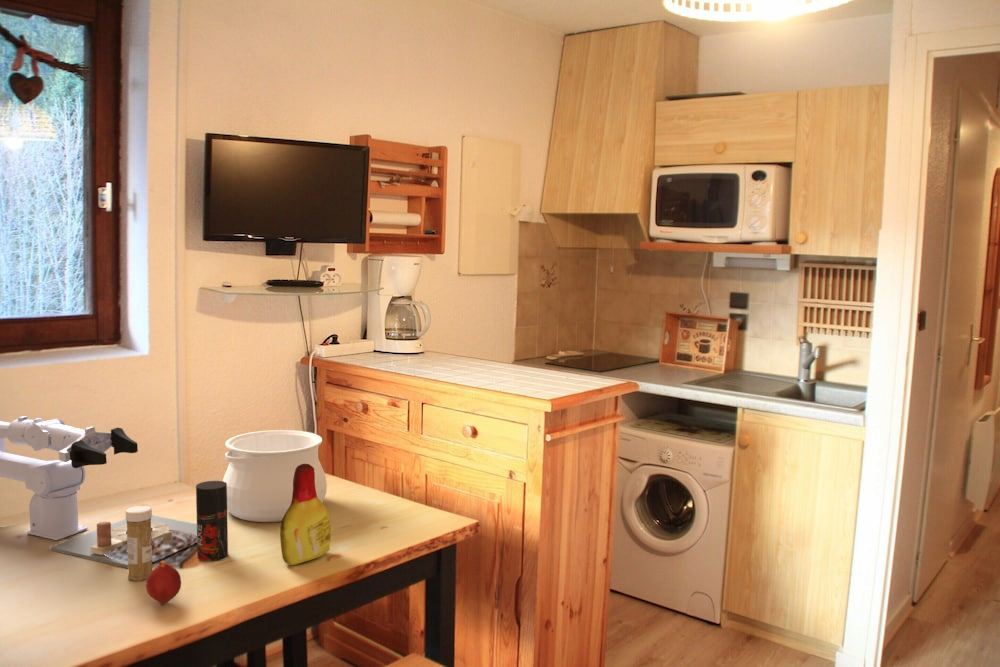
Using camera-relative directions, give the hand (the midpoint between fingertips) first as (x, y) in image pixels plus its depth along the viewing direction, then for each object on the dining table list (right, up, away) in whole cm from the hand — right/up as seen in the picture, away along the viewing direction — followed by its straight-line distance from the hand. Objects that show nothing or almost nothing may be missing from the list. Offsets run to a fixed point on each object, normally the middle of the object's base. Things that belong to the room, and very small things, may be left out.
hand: (120, 453), depth 172 cm
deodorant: (+19, -21, -1) cm, 29 cm away
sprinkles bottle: (+9, -22, -12) cm, 27 cm away
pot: (+24, -18, +30) cm, 42 cm away
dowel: (+9, -20, +3) cm, 22 cm away
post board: (+1, -20, +7) cm, 21 cm away
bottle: (+38, -22, -2) cm, 44 cm away
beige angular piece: (0, -19, +4) cm, 19 cm away
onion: (+18, -24, -23) cm, 38 cm away
